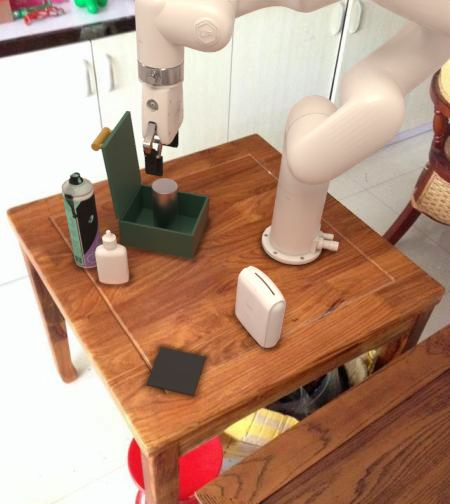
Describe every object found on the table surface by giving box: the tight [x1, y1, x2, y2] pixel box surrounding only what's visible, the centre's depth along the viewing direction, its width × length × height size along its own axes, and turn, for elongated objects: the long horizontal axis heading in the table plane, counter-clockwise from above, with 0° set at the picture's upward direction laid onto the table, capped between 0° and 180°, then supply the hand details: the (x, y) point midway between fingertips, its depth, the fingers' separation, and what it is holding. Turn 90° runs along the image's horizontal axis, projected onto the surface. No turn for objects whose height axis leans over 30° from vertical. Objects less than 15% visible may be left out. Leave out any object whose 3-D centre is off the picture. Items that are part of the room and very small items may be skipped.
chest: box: [117, 183, 210, 260], centre depth 115 cm, size 15×13×6 cm
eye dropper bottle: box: [95, 229, 130, 285], centre depth 103 cm, size 4×6×12 cm
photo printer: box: [234, 265, 287, 349], centre depth 96 cm, size 10×4×12 cm, turn 32°
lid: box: [90, 110, 142, 221], centre depth 107 cm, size 16×13×5 cm
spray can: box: [61, 171, 103, 269], centre depth 103 cm, size 6×6×20 cm
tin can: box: [151, 177, 179, 231], centre depth 112 cm, size 5×5×12 cm
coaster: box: [145, 346, 207, 397], centre depth 94 cm, size 8×8×1 cm
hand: (162, 159), depth 104 cm, fingers open, 9 cm apart
